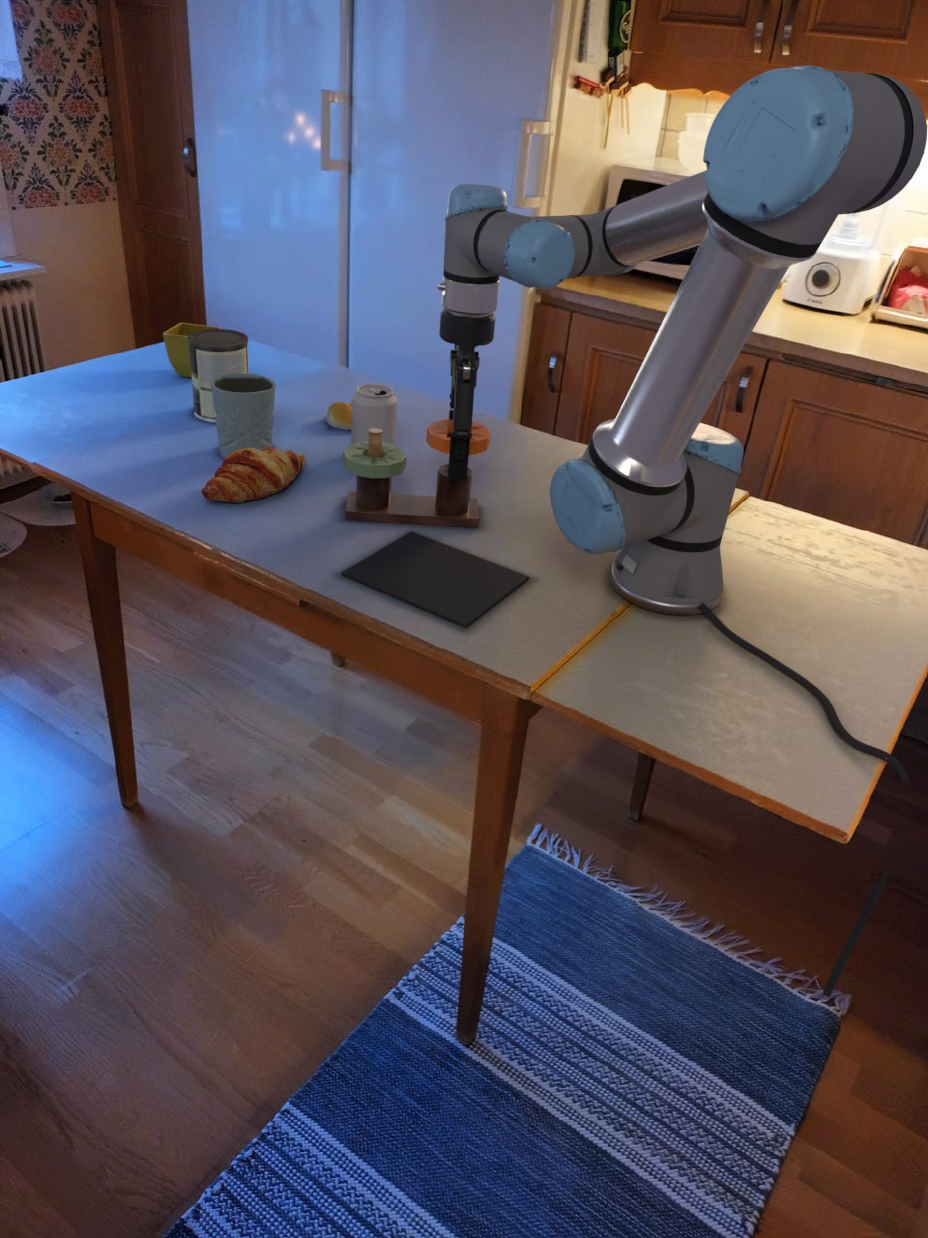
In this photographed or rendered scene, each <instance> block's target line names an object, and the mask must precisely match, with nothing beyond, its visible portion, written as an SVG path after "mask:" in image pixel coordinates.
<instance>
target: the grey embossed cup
mask: <svg viewBox="0 0 928 1238" xmlns="http://www.w3.org/2000/svg"><path fill="white" fill-rule="evenodd" d="M211 389H212V395H213V402H214V409H215V412H216V417H215V419H216V423H215V426H216V431H217V443H218V451H219V455H220V456H221V457H223V459H225V458H226V457H227V456H228V455H230V454H232V452H234V451H236V450H239V449H244V448H256V449H259V450H261V451H262V450H263V449H264V448H266V447H272V443H273V441H272V439H273V438H272V436H273V435H272V432H273V431H272V430H273V425H274V424H273V423H274V409H275V406H274V404H275V397H276V396H275V395H276V383H275V381H274V380H272V378H269V377H267V376H264V375H260V374H255V373H253V374H252V373H249V374H226V375H222V376H218V377H216V378H214V379H213V380H212V381H211Z"/></svg>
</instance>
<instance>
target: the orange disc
mask: <svg viewBox="0 0 928 1238" xmlns="http://www.w3.org/2000/svg"><path fill="white" fill-rule="evenodd" d="M464 430H467V429H464ZM452 431H453V419H450V420H449V419H441V420H437V421H434V422H431V423H430V424H429V425H428V426H427V428H426V439H425V442H426V443H427V445H428V446H429V448H430V449H433V450H434V451H435V450H436V451H438V452H440V453H443V454H447V455H449V454H450V441H451V437H447V432H450V433H451V432H452ZM471 432H472V436H471V439H470V447H469V456H474V455H478V454H482V453H484V452H487V451H488V449H489V447H490V445H491V436H492V435H491V434H492V432H491V430H489V429H488V427H487V426H485V425H483V424H481V423H478V422H477V421H472V429H471Z"/></svg>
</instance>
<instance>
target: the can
mask: <svg viewBox="0 0 928 1238" xmlns="http://www.w3.org/2000/svg"><path fill="white" fill-rule="evenodd" d="M355 391H356V392H355V393H354V394H353V395H352V396H351V403H352V424H351V430H350V431H351V433H350V435H351V436H350V441H351V442H350V445H352V444H355V443H359V442H368V436H369V429H371V428H379V429H381V430H382V442H383V443H389V444H393V445H395V446H396V441H397V440H396V438H397V437H396V435H397V414H398V398H397V396H396V395H395V394H394V393H395V390H394V389H393V388H392V387H390V386H388V385H386V384H381V383H363V384H360V385H358V386H357V387H356V388H355Z"/></svg>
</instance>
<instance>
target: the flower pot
mask: <svg viewBox="0 0 928 1238" xmlns="http://www.w3.org/2000/svg"><path fill="white" fill-rule="evenodd" d="M205 329H222V327H221V326H213V325H212V326H211V325H203V324H195V323H188V322H179V323H177V324H176V325H173V326H172V327H171V328H169V329H168V330H166V331H164V332H163V333H162V338H163V341H164V347H165V350H166V355H167V358H168V361H169V362H170V365H171V367H172V368H173V369H174V371H175V372H176V374H177V375H178V376H179V377H183V378H191V379H192V375H191V363H190V351H189V342H188V335H189V334H191V333H193V332H195V331H199V330H205Z"/></svg>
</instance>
